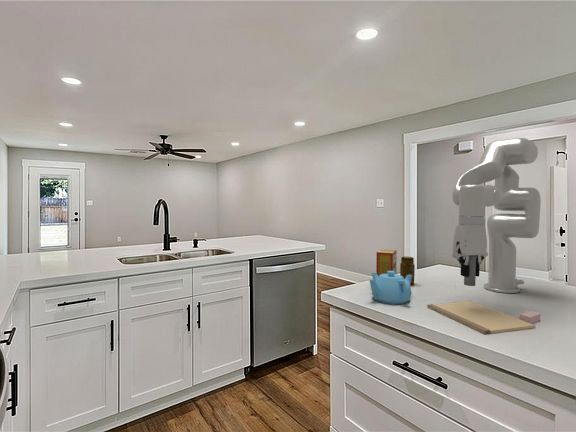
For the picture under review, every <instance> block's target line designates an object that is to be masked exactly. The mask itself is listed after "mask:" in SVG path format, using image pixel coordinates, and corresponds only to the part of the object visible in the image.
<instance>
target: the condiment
mask: <svg viewBox="0 0 576 432" xmlns="http://www.w3.org/2000/svg"><path fill="white" fill-rule="evenodd" d="M414 262H415V260H414V257H412V256H401V260H400V265H399V266H400V267H399V275H401V276H402V277H403V278H404V279H405V278H406V276H407V275H412V279H411V284H410V287H420V286H421V285H420V284H418V283H415V275H416V274H415V272H416V271H415V269H416V268H415V267H416V266H415V263H414Z"/></svg>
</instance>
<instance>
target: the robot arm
mask: <svg viewBox="0 0 576 432" xmlns="http://www.w3.org/2000/svg"><path fill="white" fill-rule="evenodd" d="M536 144H537V143H535V142H534V141H532V140H530V139H528V138H524V137H515V138H514V137H513V138H506V139H499V140H494V141H491V142H490V143H488V144H487V145H486V146H485V148H484V150H483V152H482V155H481V157H480V161H479V162H478V165H477V164H476V165H475V166H474V167H472V168H470V169H469V170H468V171H466V172H465V173H463V174H462V175H461V176H460V177H459V178H458V180H457V181H456V183H455V186H454V188H453V191H452V195H451V197H452V202H453V204H454V205H456V206H458V224H457V225H456V226H455V230H454V236H453V242H452V243H453V244H452V252H453V253H452V257H453V258H454V259H456V260H457V262H458V264H460V276H461V277H464V276H465V277H469V270H470V266H469V265H468V261H469V256H473V255H476V277H480V265H482V263H483V261H484V259H485V258H487V257H488V279H487V281H488V283H484V284H483V288H484V289H485V290H488V291H492V292H494V293H495V292H496V293H503V294H504V293H505V294H518V293H520V292H521V289H520V287H518V286H519V285H524V284H525V280H523V279H517V277H516V276H517V274H516V273H517V246H516V245H515V243H514V242H513V241H512V239H511V238H517V239H518V238H519V239H533V238H534V239H535V238H536V237H537V236H538V234H539V231H540V230H539V229H540V220H541V203H542V202H541V194H540V191H539V190H538V189H537V188H536V187H519V185H520V184H519V183H520V176H519V174H518V173H517V171H516V170H515V169H514V168H512V167H511V166H515V165H517V166H518V165H527V164H532V163H534V162H535V161H536V160H537V158H538V154H539V151H538V146H537V145H536ZM492 181H494V185H493V184H485V183H489V182H492ZM487 207H493V208H494V210H495V209H496V210H497V211H501V212H503V211H504V212H524V213H523V214H522V213H494V214H492V215H490V216H488V218H487V221H486V218H485V210H486V209H485V208H487ZM485 222H486V225H485ZM486 227H487V228H486ZM486 229H487V230H486ZM487 234H488V238H487ZM487 248H488V249H487ZM487 250H488V251H487Z"/></svg>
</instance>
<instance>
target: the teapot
mask: <svg viewBox="0 0 576 432" xmlns="http://www.w3.org/2000/svg"><path fill="white" fill-rule="evenodd" d="M387 273H388V274H381V275H380V276H378V275H377V273H376V272H371V275H372V279H369V284H370V289H371V295H372V297H373V298H374V299H375V300H376V301H377V302H380V303H382V302H383V303H384V304H387V303H388V304H387V305H402V304H406V303H407V302H409V300H410V299H411V295H412V289H411V288H412V287H411V286H410V284H411V279H412V275H407V276H406V278H405V279H404V278H403V277H402V276H401V275H400V274H397V273H396V274H395V272H394V271H387Z"/></svg>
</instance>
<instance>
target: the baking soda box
mask: <svg viewBox="0 0 576 432" xmlns="http://www.w3.org/2000/svg"><path fill="white" fill-rule="evenodd" d="M397 254H398V253H397V250H396V249H384V248H382V249H379V250H378V251H376V267H375V268H376V272H375V273H377V275H378V276H380V275H381V274H388V273H387V271H394V272H395V274H397Z"/></svg>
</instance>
